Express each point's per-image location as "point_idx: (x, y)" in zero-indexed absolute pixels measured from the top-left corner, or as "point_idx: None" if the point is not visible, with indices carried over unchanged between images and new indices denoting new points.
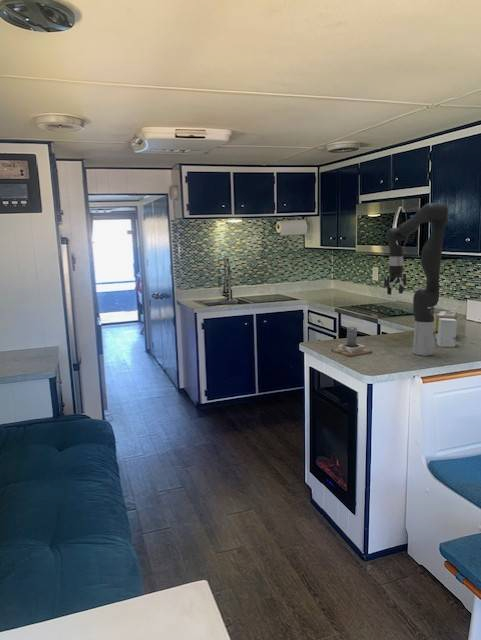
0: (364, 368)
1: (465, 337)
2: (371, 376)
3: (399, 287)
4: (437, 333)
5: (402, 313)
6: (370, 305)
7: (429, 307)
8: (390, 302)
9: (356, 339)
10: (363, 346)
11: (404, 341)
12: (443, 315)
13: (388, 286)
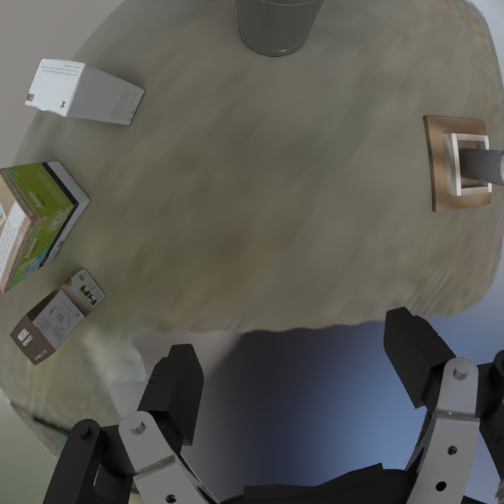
0: (478, 38)
1: None
2: (476, 5)
3: (189, 432)
4: (75, 198)
5: None
6: None
7: (21, 336)
8: None
9: (482, 151)
10: (455, 133)
11: (211, 210)
12: (14, 200)
13: (501, 357)
